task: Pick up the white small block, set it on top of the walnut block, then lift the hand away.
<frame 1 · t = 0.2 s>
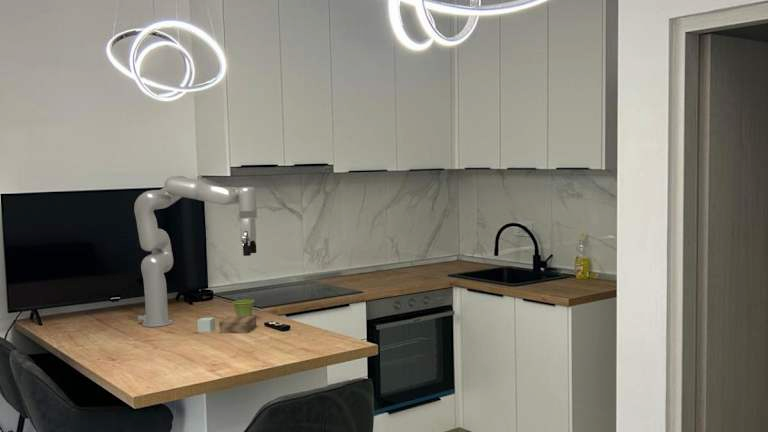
hand: (250, 254, 320), 31 cm above the counter, fingers open, 9 cm apart
walnut block: (238, 330, 310), on the counter
white small block: (206, 330, 311), on the counter
plant pot: (244, 321, 330), on the counter
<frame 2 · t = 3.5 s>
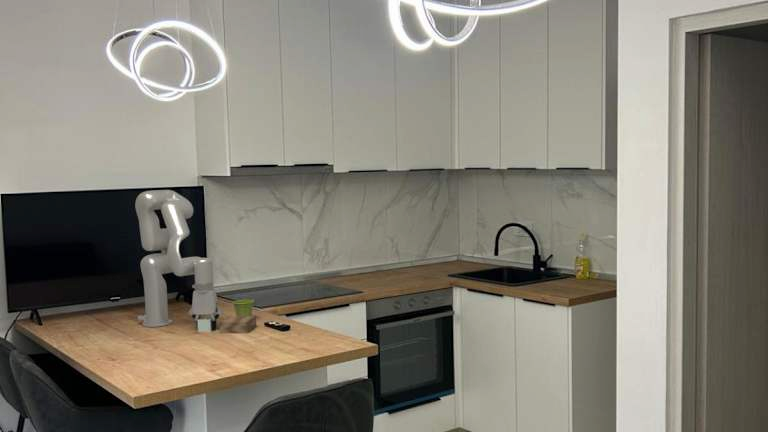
hand: (206, 329, 311), 1 cm above the counter, fingers closed on white small block, 5 cm apart
white small block: (206, 330, 311), on the counter, touching gripper
everything else where it was.
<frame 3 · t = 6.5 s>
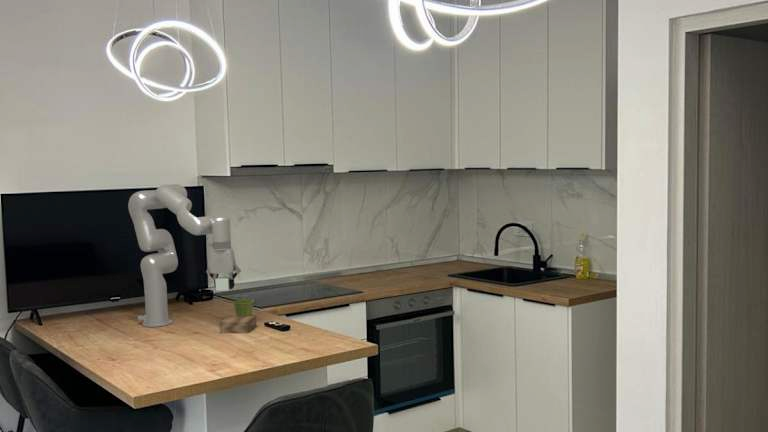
hand: (224, 288, 309), 18 cm above the counter, fingers closed on white small block, 5 cm apart
white small block: (224, 289, 309), point 17 cm above the counter, touching gripper
everything else where it was.
when the fingers open (6 cm above the counter, at t = 9.7 s): white small block stays where it is, point 5 cm above the counter.
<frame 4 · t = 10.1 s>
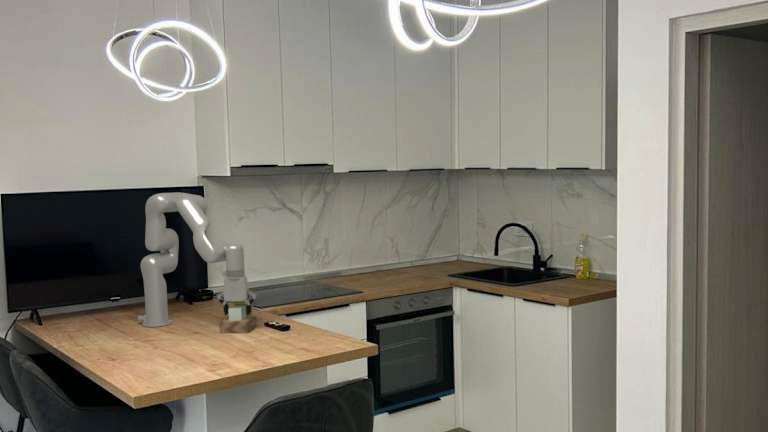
hand: (237, 314, 309), 7 cm above the counter, fingers open, 9 cm apart
white small block: (237, 319, 309), point 5 cm above the counter
everything else where it was.
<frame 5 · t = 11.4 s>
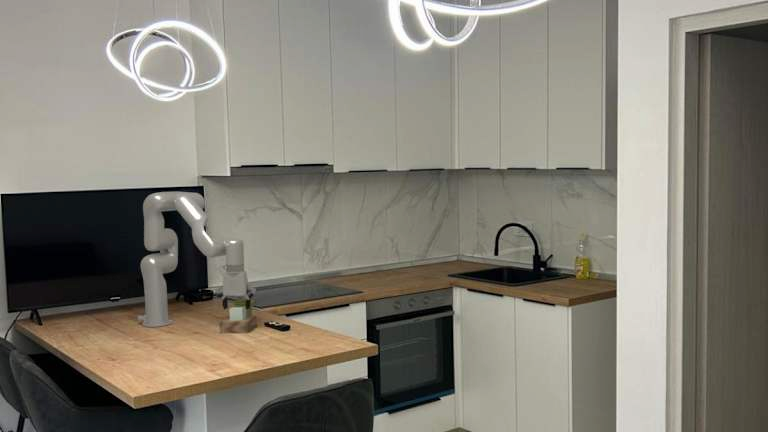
hand: (236, 308, 309), 9 cm above the counter, fingers open, 9 cm apart
walnut block: (238, 331, 309), on the counter, touching white small block
white small block: (238, 319, 309), point 5 cm above the counter, touching walnut block
everything else where it was.
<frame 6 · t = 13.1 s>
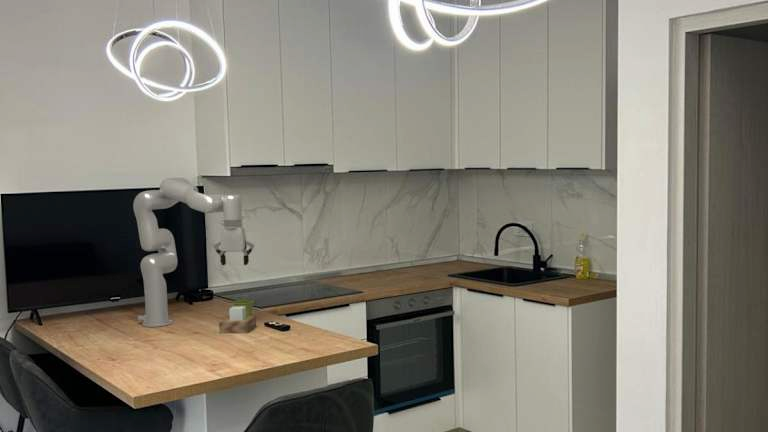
hand: (234, 264, 308), 28 cm above the counter, fingers open, 9 cm apart
nothing on the counter moved.
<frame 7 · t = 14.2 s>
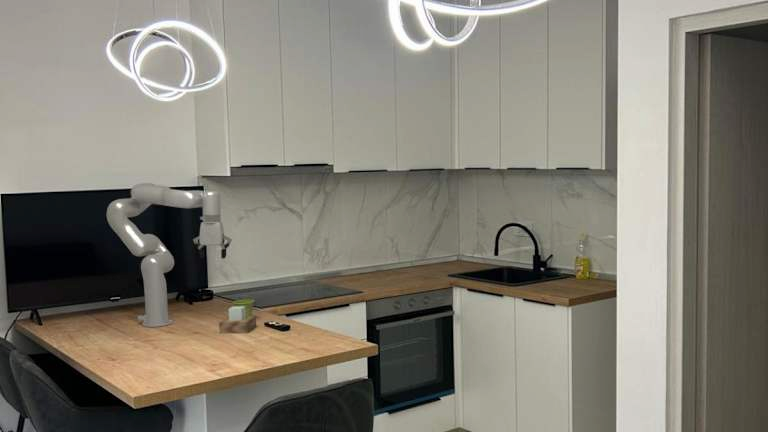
hand: (212, 258, 320), 30 cm above the counter, fingers open, 9 cm apart
nothing on the counter moved.
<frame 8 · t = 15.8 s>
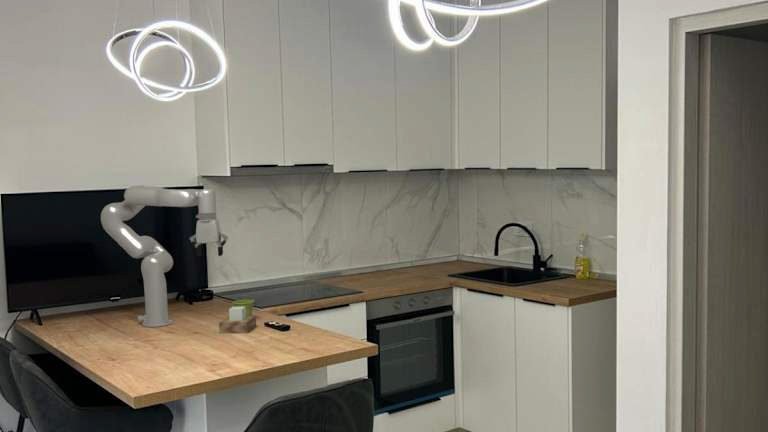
hand: (209, 255, 323), 30 cm above the counter, fingers open, 9 cm apart
nothing on the counter moved.
at the end: white small block 0.1 cm off-centre on the walnut block, point 5.0 cm above the walnut block's base; white small block tilted 0°; the gripper is holding nothing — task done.
